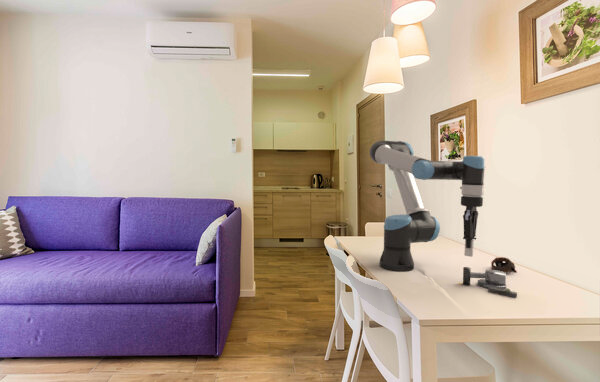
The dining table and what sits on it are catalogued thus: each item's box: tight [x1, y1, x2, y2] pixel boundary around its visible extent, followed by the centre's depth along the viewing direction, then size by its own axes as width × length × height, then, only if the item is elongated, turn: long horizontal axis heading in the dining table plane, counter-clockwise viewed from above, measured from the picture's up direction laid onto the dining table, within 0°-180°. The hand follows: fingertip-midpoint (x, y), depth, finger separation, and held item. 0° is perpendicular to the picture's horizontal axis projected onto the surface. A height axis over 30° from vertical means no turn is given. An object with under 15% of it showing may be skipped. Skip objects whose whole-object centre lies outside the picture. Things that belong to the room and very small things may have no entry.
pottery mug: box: [490, 256, 518, 274], centre depth 138 cm, size 12×10×8 cm
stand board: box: [457, 282, 518, 299], centre depth 119 cm, size 20×19×4 cm
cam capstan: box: [462, 266, 507, 290], centre depth 118 cm, size 14×9×6 cm, turn 84°
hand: (468, 255), depth 126 cm, fingers closed
